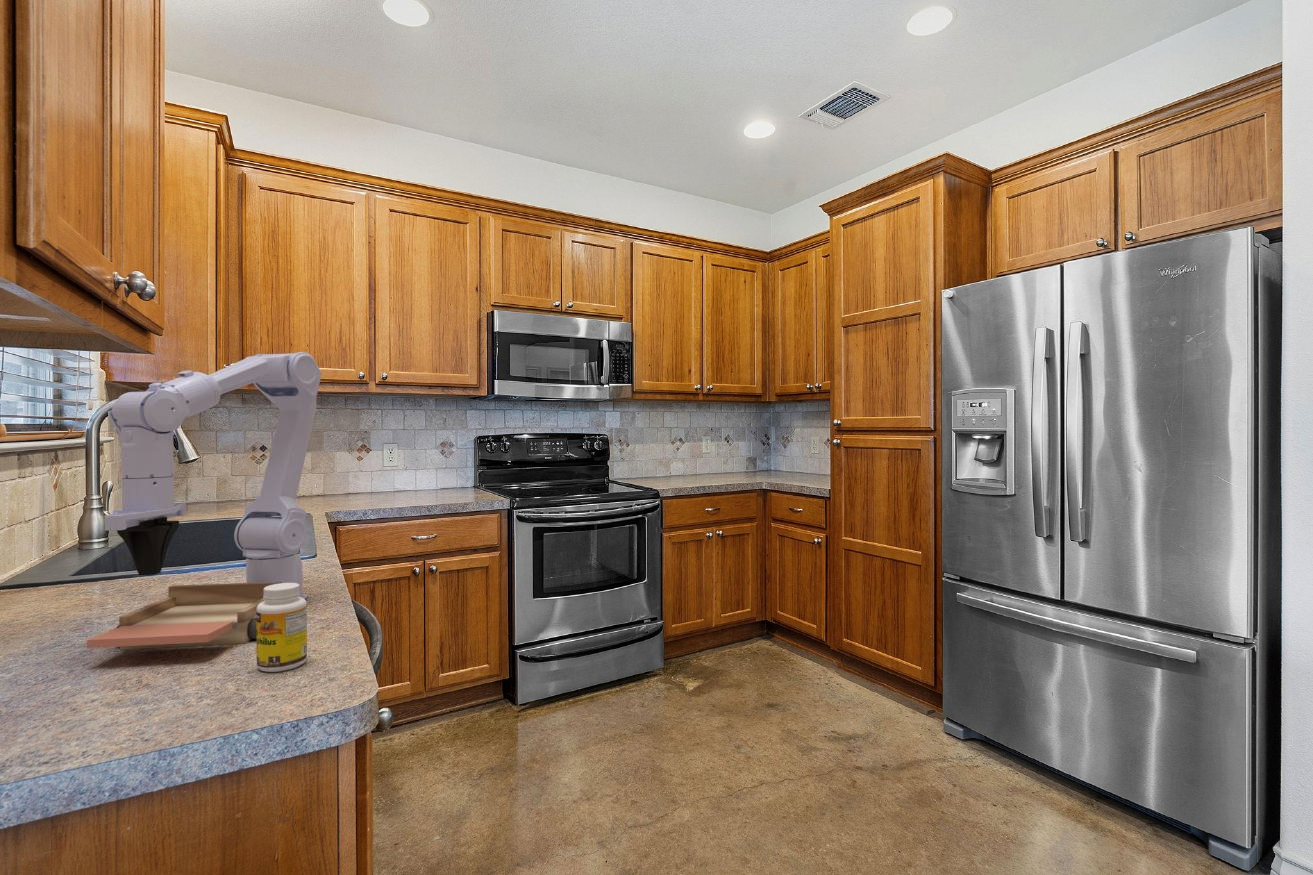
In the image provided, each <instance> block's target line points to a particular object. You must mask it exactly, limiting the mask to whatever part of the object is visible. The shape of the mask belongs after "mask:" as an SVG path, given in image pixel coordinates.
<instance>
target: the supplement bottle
mask: <svg viewBox="0 0 1313 875" xmlns="http://www.w3.org/2000/svg"><path fill="white" fill-rule="evenodd" d="M299 593H300V591H299V584H297V583H280V584H274V585H270V586H267V587H265V588H264V595H263V597H264V601H263V602H261V603H260V604H259V605H258V606H257V609H256V621H257V639H256V667H257V669H258V670H260V671H262V672H264V673H265V672H266V673H267V672H268V673H278V672H279V673H280V672H284V671H285V672H286V671H290V670H292V669H295V668H298V667H300V666H302V665H303V664H304V663H305V662H306V660H307V658H308V651H307V650H308V628H307V627H308V620H307V619H308V614H307V611H308V608H307V607H308V606H307V604H308V603H307V600H306V599H304V598H301V597H299V596H300V594H299Z"/></svg>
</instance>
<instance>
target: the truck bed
mask: <svg viewBox="0 0 1313 875" xmlns="http://www.w3.org/2000/svg"><path fill="white" fill-rule="evenodd" d="M280 583H282V582H259V583H246V582H234V583H210V584H209V583H208V584H207V583H206V584H203V583H202V584H182V585H181V584H179V585H170V586H168V588H167V589H168V591H167V592H168V593H167V594H168V595H167V596H166V597H165V598H162V599H159V600H157V601H154V602H153V603H150V604H148V605H145V606H142V607H140V608H137V609H136V610H132V611H130V612H128V613H126V614H124V615H121V616H119V617H118V618H119V619H118V622H119V624H118V625H117V626H116V627H115V629H116V628H119V627H121V626H137V625H160V624H183V623H205V622H228V621H234V622H236V623H237V625H236V627H235V628H234V629H232V630H230V631H228V632H226V633H224V634H222V635H220V636H218V637H217V638H215V639H213V640H211V641H209V642H201V643H181V644H160V645H139V646H118V647H119V650H138V649H140V650H141V649H142V650H144V649H158V648H159V649H160V648H162V649H164V648H179V647H180V648H182V647H200V646H202V647H203V646H221V645H222V646H224V645H242V644H247V643H248V642H250V641H251V640H257V621H256V609H257V606H258V605H259V604H260V603H261V602H263V601H264V597H263V595H264V588H265V587H267V586H270V585H274V584H280Z"/></svg>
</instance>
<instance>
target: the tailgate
mask: <svg viewBox="0 0 1313 875" xmlns="http://www.w3.org/2000/svg"><path fill="white" fill-rule="evenodd" d="M236 625H237V623H236V622H234V621H228V622H205V623H183V624H160V625H137V626H121V627H119V628H116V627H115V628H114V629H112V630H109V631H106V632H104V633H101V634H98V635H97V636H94V637H90V638H88V639H87V640H86V649H95V648H97V649H98V648H115V647H116V648H117V647H119V646H139V645H160V644H181V643H201V642H209V641H211V640H213V639H215V638H217V637H218V636H220V635H222V634H224V633H226V632H228V631H230V630H232V629H234V628H235V627H236Z"/></svg>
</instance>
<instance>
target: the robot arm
mask: <svg viewBox="0 0 1313 875" xmlns="http://www.w3.org/2000/svg"><path fill="white" fill-rule="evenodd" d="M177 376H178V377H177V378H174V379H172V380H171V379H170V380H168V381H165V382H153V383H151V384H149V385H148V388H147V389H146V390H145V391H129V392H125V393H123V394H120V396H119V397H118V398H117V400H115V401H114V403H113V405H112V407H111V409H110V410H108V411H107V414H108V415H107V416H108V419H109V421H110V424H112V426H113V427H114V429H115V430H116V431H117V440H118V441H120V461H121V462H120V466H121V467H120V470H121V471H120V472H121V508H118V509H113V510H112V513H111V514H107V515H104V531H116V534H118V536H119V537H120V538H121V539H122V540H123V542H124V543H125V545H126V546H127V548H128V550H129V553H130V554H131V556H132V557H131V558H132V560H133V563H134V565H135V568H136V571H137V574H138V576H155V575H158V574H161V571H162V569H163V566H164V562H165V559H166V554H167V551H168V548H169V545H170V543H171V540H173V539H172V538H173V537H174V535H175V533H176V532H177V530H178V529H179V527H180V521H179V520H168V519H172V518H175V517H185V516H187V503H186V502H175V477H174V476H175V470H174V466H175V464H174V463H175V462H174V431H177V430H178V429H179V428H180V427H181V426H182V424H183V423H184V420H186V419H188V418H191V417H193V416H195V415H198V414H199V413H202V412H204V411H206V410H208V409H209V410H210V408H214V407H215V406H216V405H218V404H219V402H220V400H221V395H223V394H226V393H228V392H231V391H235V390H237V389H240V388H242V387H245V386H248V385H251V384H253V385H254V386H255V387H256V388H257V390H259V391H260V392H261V393H262V394H263V395H264V396H265V398H267V399H268V400H269V401H270V402H271V403H272V404H273V405H275V406H277V408H278V409H279V416H278V420H277V424H276V427H275V432H274V435H273V440H272V444H271V448H270V452H269V456H268V461H267V465H266V470H265V473H264V477H263V481H262V487H261V490H260V494H259V496H258V497H257V498H256V499H255V500H253V501H252V502H251V503H249V504H248V505H246V506H245V508H244V512H243V515H242V517H241V519H240V520H239V522H238V523H237V525H236V526H235V529H234V533H233V540H234V543H235V545H236V547H237V548H238V549H239V550H241V551H242V557H245V563H246V564H245V567H246V569H245V570H246V571H245V572H246V582H245V583H259V582H282V583H297V584H299V591H300V593H299V594H300V596H299V597H301V598H304V599H305V600H306V599H308V597H309V594H303V589H304V588H303V561H302V559H301V556H299V555H298V554H299V553H300V552H299V550H300V549H301V548H303V545H304V544H305V542H306V538H307V527H306V519H307V518H306V517H307V511H306V509H304V508H303V507H302V506H301V505H300V504H299V503H298V502H297V495H298V491H299V486H300V483H301V477H302V473H303V470H304V464H305V459H306V456H307V451H308V447H309V442H310V437H311V434H312V429H313V423H314V421H315V415H316V411H317V396H318V392H319V387H320V382H321V378H322V371H321V369H320V367H319V365H318V363H317V361H316V360H315V358H314V357H313V356H312V355H311V354H310V353H308V352H305V351H297V352H294V353H293V352H292V353H270V354H269V353H268V354H267V353H258V354H255V355H253V356H252V355H251V356H246V357H245V358H244V359H241V360H240V361H237V362H235V363H233V364H230V365H228V366H225V367H223V368H222V369H219V370H217V371H215V372H212V373H210V374H206V373H203V372H200V371H193V370H183V371H180V372H178V373H177Z"/></svg>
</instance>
